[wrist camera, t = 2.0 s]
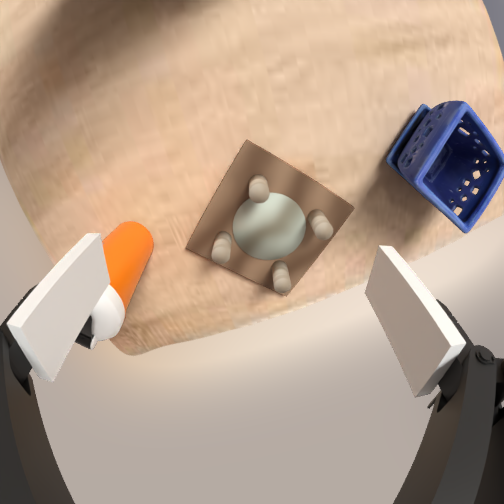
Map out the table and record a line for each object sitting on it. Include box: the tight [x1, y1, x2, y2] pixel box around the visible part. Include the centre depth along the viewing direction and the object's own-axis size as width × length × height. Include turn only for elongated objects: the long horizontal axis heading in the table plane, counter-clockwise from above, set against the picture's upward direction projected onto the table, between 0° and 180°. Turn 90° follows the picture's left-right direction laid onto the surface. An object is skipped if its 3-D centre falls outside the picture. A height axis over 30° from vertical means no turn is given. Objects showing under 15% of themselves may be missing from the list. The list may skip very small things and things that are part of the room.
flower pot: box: [386, 101, 504, 233], centre depth 30 cm, size 13×13×12 cm
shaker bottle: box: [75, 221, 153, 350], centre depth 34 cm, size 9×9×20 cm
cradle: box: [186, 140, 354, 296], centre depth 39 cm, size 18×18×6 cm
